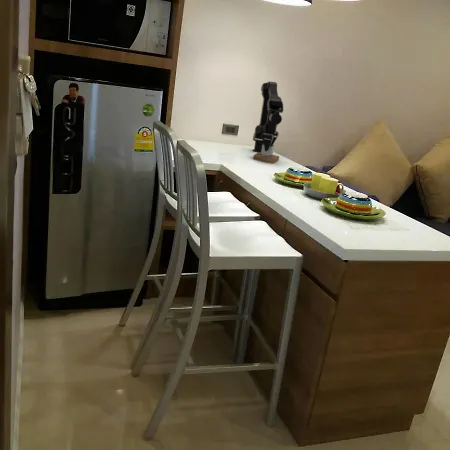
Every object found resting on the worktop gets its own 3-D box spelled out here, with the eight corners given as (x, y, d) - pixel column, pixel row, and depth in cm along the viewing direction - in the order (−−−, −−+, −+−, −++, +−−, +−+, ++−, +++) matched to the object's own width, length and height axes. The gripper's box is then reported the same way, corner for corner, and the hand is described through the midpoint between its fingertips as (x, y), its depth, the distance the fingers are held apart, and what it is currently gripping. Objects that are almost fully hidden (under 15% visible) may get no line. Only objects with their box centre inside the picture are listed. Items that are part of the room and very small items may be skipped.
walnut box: (257, 157, 295) (258, 152, 294) (278, 161, 292) (279, 156, 291) (252, 160, 284) (253, 155, 283) (274, 164, 281) (275, 159, 280)
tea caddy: (262, 153, 290) (264, 143, 288) (272, 155, 289) (274, 145, 287) (260, 155, 285) (262, 144, 283) (270, 157, 284) (272, 146, 282)
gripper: (261, 118, 292) (257, 145, 296) (253, 120, 274) (249, 149, 279) (280, 121, 289) (276, 149, 294) (274, 124, 272) (269, 153, 277)
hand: (267, 150), depth 286 cm, fingers open, 9 cm apart
